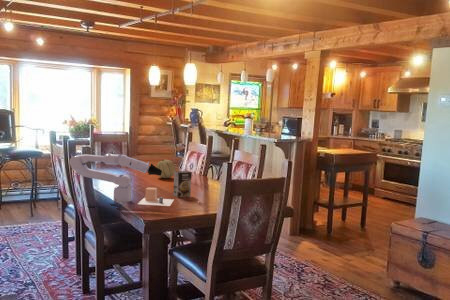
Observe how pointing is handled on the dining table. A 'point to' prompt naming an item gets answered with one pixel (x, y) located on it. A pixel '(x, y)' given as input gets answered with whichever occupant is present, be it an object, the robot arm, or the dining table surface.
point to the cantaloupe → (166, 168)
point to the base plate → (156, 202)
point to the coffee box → (182, 183)
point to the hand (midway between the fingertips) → (161, 173)
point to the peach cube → (151, 194)
